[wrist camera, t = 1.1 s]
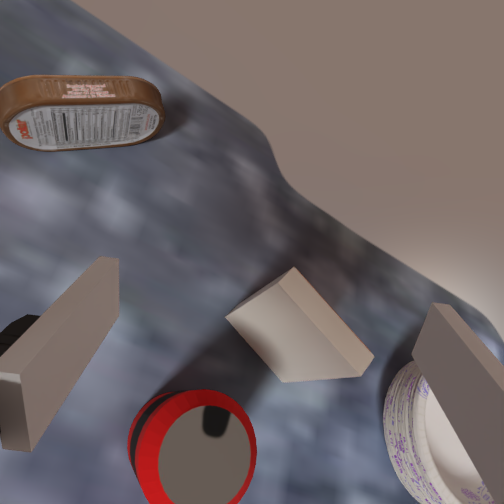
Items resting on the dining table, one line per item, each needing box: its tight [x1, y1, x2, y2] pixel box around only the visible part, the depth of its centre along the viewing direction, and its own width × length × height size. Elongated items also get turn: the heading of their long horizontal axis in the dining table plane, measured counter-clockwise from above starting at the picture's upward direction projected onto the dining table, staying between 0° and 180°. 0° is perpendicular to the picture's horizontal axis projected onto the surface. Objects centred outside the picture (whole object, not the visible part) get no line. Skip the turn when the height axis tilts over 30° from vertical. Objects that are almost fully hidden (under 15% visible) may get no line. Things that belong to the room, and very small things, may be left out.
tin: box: [0, 75, 165, 152], centre depth 35 cm, size 15×3×8 cm, turn 111°
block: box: [225, 267, 374, 383], centre depth 33 cm, size 2×9×13 cm, turn 46°
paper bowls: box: [383, 360, 495, 504], centre depth 38 cm, size 15×15×8 cm
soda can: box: [127, 389, 257, 504], centre depth 27 cm, size 8×8×12 cm
